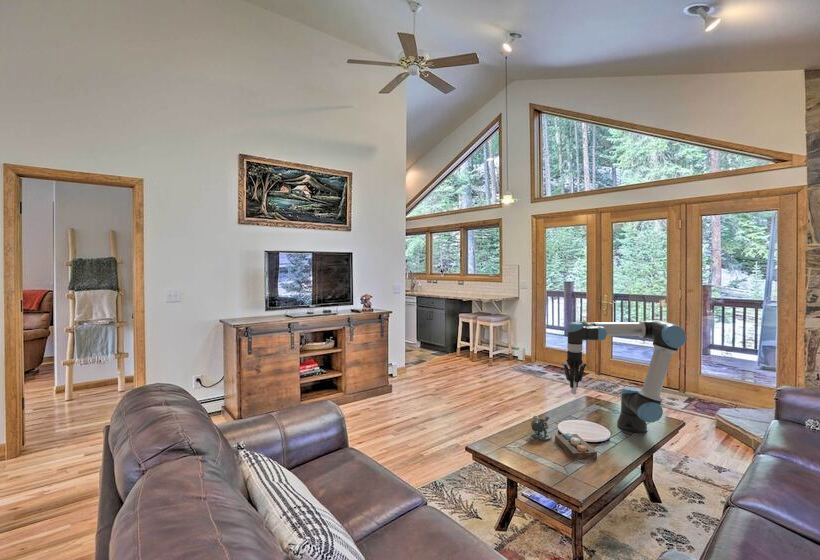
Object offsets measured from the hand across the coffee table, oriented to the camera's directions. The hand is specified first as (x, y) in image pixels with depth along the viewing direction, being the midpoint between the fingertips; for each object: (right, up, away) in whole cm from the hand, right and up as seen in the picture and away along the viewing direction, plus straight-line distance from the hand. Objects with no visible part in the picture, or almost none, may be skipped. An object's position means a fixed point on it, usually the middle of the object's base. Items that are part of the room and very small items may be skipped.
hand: (573, 393), depth 219 cm
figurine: (-17, -25, +2) cm, 30 cm away
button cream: (-5, -23, -13) cm, 27 cm away
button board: (-5, -25, -13) cm, 29 cm away
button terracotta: (-4, -24, -19) cm, 31 cm away
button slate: (-5, -23, -6) cm, 25 cm away
